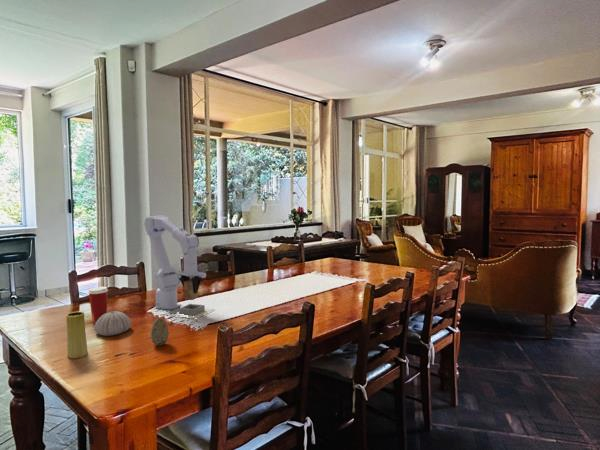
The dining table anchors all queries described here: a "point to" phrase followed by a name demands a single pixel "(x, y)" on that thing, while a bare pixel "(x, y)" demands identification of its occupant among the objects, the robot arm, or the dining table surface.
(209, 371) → the dining table surface
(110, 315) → the sea urchin shell
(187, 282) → the square peg
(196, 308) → the grey square socket
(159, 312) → the dining table surface
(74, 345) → the vase
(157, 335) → the decorative egg
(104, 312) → the paper cup
